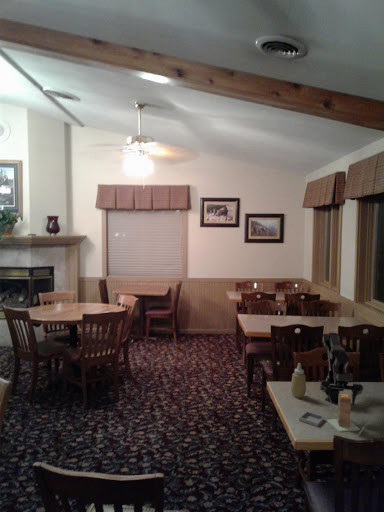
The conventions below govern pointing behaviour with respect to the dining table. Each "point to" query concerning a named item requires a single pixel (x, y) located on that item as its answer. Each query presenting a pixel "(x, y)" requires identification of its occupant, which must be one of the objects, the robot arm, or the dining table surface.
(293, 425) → the dining table surface
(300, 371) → the squeeze bottle
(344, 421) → the walnut box
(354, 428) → the sage pad
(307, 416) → the grey square tray
